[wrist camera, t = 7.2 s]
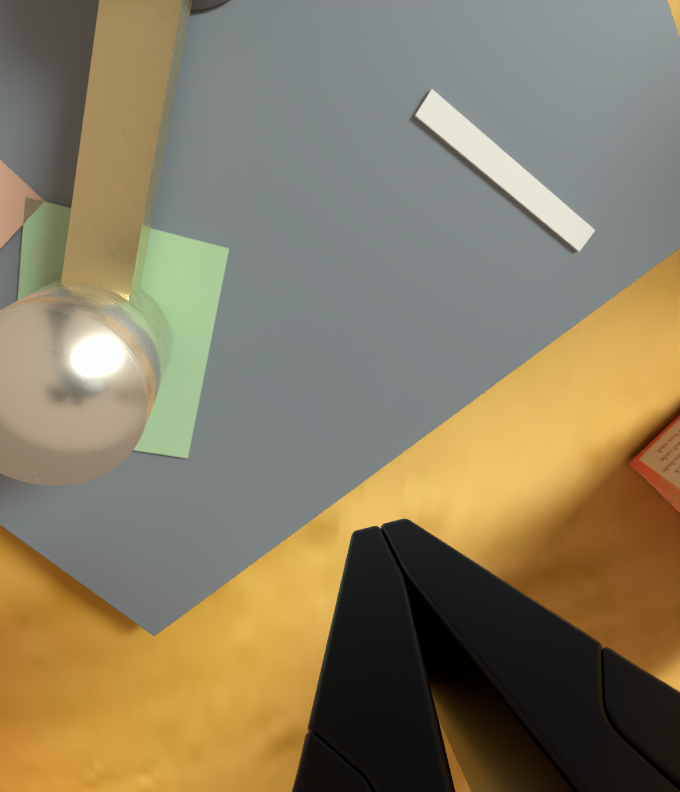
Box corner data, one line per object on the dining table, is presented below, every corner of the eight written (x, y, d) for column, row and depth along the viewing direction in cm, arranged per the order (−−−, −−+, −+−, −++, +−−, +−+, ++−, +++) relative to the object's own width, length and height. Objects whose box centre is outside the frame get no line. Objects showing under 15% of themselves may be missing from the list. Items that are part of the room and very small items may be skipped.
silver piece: (93, -237, 11) (-4, -518, 7) (277, -145, 12) (299, -333, 8) (19, 386, 16) (-68, 468, 11) (158, 413, 17) (129, 498, 12)
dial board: (-411, 186, 13) (-476, 187, 12) (413, -612, 11) (435, -710, 10) (158, 613, 21) (153, 639, 20) (707, 204, 19) (739, 206, 18)
